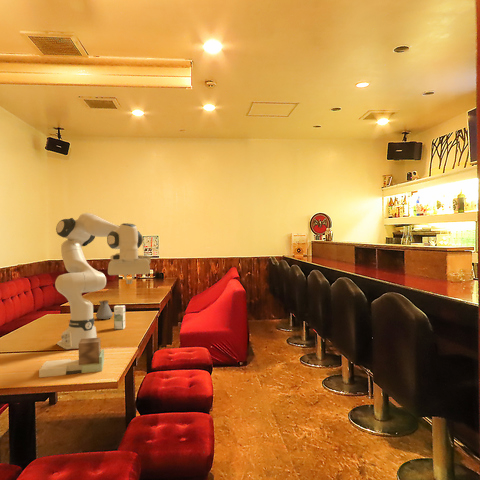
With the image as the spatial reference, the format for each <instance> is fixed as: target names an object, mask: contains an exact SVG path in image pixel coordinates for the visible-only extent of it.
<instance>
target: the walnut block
mask: <svg viewBox="0 0 480 480" xmlns="http://www.w3.org/2000/svg"><path fill="white" fill-rule="evenodd" d="M101 346H102V345H101V337H97V338H87V339H81V340H80V342H79V348H78V360H79V365H84V364H94V363H99V356H100V353H101V350H102V349H101Z"/></svg>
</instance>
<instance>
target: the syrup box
mask: <svg viewBox="0 0 480 480" xmlns="http://www.w3.org/2000/svg"><path fill="white" fill-rule="evenodd" d="M113 325H114V326H113V330H124V329H125V328H126V304H125V305H118V304H117V305H114V306H113Z"/></svg>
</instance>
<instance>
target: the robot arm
mask: <svg viewBox="0 0 480 480" xmlns="http://www.w3.org/2000/svg"><path fill="white" fill-rule="evenodd" d="M55 227H56V228H55V230H56V231H55V232H56V234H57V235H58V236H59V237H60V238H63V239H64V238H65V239H67V240H65V241H63V242H62V244H61V246H60V247H61V249H60V253H61V257H62V261H63V265H64V268H65V270H66V271H67V272H68V273H63V274H59V275H58V276H57V277H56V279H55V282H54V284H55V285H54V286H55V289H56V290H57V292H58V293H59V294H61V295H62V296H64V297H65V299H66V300H67V301H68V304H69V308H70V309H69V310H70V319H69V320H67V321H68V326H67V328H66V329H65V330H64V331H63V332H62V333H61V336H60V338H61V340H59V341H57V342H56V345H58V346H59V347H60V348H63V349H64V350H73V349H74V350H75V349H77V350H79V342H80V340H81V339H87V338H98V337H97V336H98V335H97V327H96V326H95V318H94V304H93V302H91V300H89V299H86V298H84V297H83V296H82V295H83V294H84V293H93V292H99V291H101V290H104V288H105V287H106V286H107V277H106V276H105V274H104V273H103V272H102V271H100V270H99V271H98V270H97V269H95V268H93V267H92V265H90V264H89V263H88V261H87V258H86V257H85V254H84V252H83V248H82V247H87V246H88V245H89V244H91V243H92V242H93V241H94V240H95V239H96V237H97V238H98V237H99V238H100V237H101V238H104V237H105V238H106V243H107V245H108V246H109V248H110V249H112V250H119V252H117V253H114V254H111V255H110V261H109V262H108V266H107V274H108V275H109V276H120V275H121V276H123V278H124V279H125V282H126V284H129V285H131V284H133V280H134V279H135V275H145V274H146V275H148V274H150V273H151V267H150V264H151V263H152V262H151V257H150V256H149V255H139V248H140V247H141V246H142V244H143V239H144V238H143V236H142V234H141V232H140V231H139V230H138V227H137V225H136V224H134V223H130V222H129V223H125V222H124V223H121V224H120V225H117V224H115V223H113V222H110V221H108V220H106V219H105V218H102V217H100V216H98V215H97V214H94V213H91V212H84V213H82V214H80V215H79V217H78V218H77V219H74V218H73V217H71V218H64V219H61V220H59V221H58V223H57V224H56V226H55ZM128 275H131V279H128V278H127V277H128Z"/></svg>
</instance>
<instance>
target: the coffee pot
mask: <svg viewBox="0 0 480 480" xmlns="http://www.w3.org/2000/svg"><path fill="white" fill-rule="evenodd" d="M109 302H110V300H106V299H105V300H99V301H98V303H99V307H98V309H97V312H96V314H95V317H96V319H98V320H99V319H107V320H110V319H111V318H112V317H113V316H114V313H113V311H112V310H111V308H110V306H109ZM109 318H110V319H109Z"/></svg>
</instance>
